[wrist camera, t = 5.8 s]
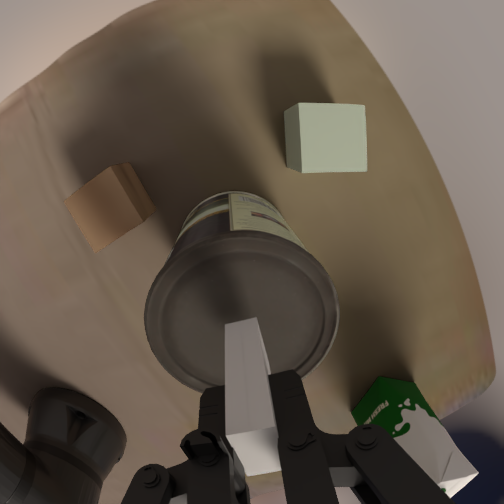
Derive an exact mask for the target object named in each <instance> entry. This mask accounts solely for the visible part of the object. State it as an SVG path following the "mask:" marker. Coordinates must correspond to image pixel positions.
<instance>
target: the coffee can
mask: <svg viewBox="0 0 504 504" xmlns="http://www.w3.org/2000/svg"><path fill="white" fill-rule="evenodd" d="M255 317H257V321H258V324H259V328H260V332H261V335H262V339H263V343H264V346H265V350H266V354H267V357H268V361H269V366H270V371H271V374H274V373H279V372H283V371H287V370H291V369H293V370H294V371H295V372H296V373H297V374H299V375H300V377H301V380H303V379H304V378H306V377H307V376H308V375H309V374H311V373H312V372H313V371H314V370H315V369H316V368H317V367H318V366H319V365H320V363H321V362H322V361H323V360H324V358H325V357H326V355H327V354H328V352H329V351H330V349H331V347H332V345H333V343H334V340H335V337H336V334H337V330H338V326H339V319H340V307H339V301H338V296H337V292H336V289H335V286H334V284H333V282H332V280H331V278H330V276H329V275H328V273H327V272H326V270H325V269H324V268H323V266H322V265H321V264H320V263H319V262H318V261H317V260H316V259H315V258H314V257H313V256H312V255H311V254H310V253H309V252H308V251H307V249H306V248H305V247H304V245H303V244H302V242H301V241H300V240H299V239H298V237H297V236H296V235H295V233H294V232H293V231H292V229H291V228H290V227H289V225H288V224H287V223H286V222H285V220H284V218H283V217H282V215H281V214H280V212H279V211H278V210H277V209H276V208H275V207H274V206H273V205H272V204H271V203H269V202H268V201H267V200H265V199H263V198H261V197H259V196H257V195H254V194H251V193H247V192H242V191H228V192H223V193H219V194H216V195H213V196H211V197H209V198H207V199H205V200H204V201H202V202H201V203H199V204H198V205H197V206H196V207H195V208H194V209H193V210H192V211H191V212H190V213H189V215H188V216H187V218H186V220H185V222H184V224H183V226H182V229H181V231H180V234H179V236H178V238H177V240H176V242H175V244H174V247H173V249H172V251H171V253H170V254H169V256H168V258H167V260H166V262H165V265H164V267H163V268H162V269H161V271H160V272H159V273H158V275H157V276H156V278H155V280H154V282H153V284H152V286H151V288H150V290H149V293H148V296H147V299H146V303H145V311H144V324H145V330H146V335H147V339H148V342H149V344H150V347H151V350H152V352H153V353H154V355H155V357H156V358H157V360H158V361H159V363H160V364H161V365H162V366H163V368H164V369H165V370H166V371H167V372H168V373H169V374H171V375H172V376H173V377H174V378H175V379H177V380H178V381H179V382H181V383H182V384H184V385H186V386H187V387H189V388H191V389H193V390H195V391H198V392H200V393H203V392H204V391H205V389H206V388H211V387H216V386H222V385H225V324H229V323H234V322H238V321H242V320H247V319H251V318H255Z"/></svg>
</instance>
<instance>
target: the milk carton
mask: <svg viewBox="0 0 504 504" xmlns="http://www.w3.org/2000/svg"><path fill="white" fill-rule="evenodd" d="M351 414H352V416H353V418H354V420H355V421H356V423H357V425H358V426H360V425H363V424H375V425H379V426H381V427H382V428H384V429H385V430H386V431H387V432H388V433H389V434H390V435H391V436H392V437H393V439H394V440H395V441H396V442H397V443H398V444H399V445H400V446H401V447H402V448H403V449H404V450H405V451H406V452H407V453H408V454H409V456H410V457H411V458H412V459H413V460H414V461H415V462H416V463H417V464H418V465H419V466H420V467H421V468H422V469H423V470H424V471H425V472H426V473H427V474H428V476H429V477H430V478H431V479H432V480H433V481H434V482H435V483H436V484H437V485H438V486H439V487H440V488H441V489H442V490H443V491H444V492H445V493H446V494H447V495H448V496H449V497H450V498H451V497H452V496H453V495H454V494H455V493H457V492H458V491H459V490H460V489H461V488H463V487H464V486H465V485H466V484H467V483H468V482H469V481H471V480H472V479H473V478H474V477H475V476H476V475H477V474H478V473H479V472H478V471H477V470H476V469H475V468H474V467H473V466H472V465H471V463H470V462H469V461H468V460H467V459H466V458H465V456H464V455H463V454H462V453H461V452H460V451H459V449H458V448H457V447H456V445H455V444H454V442H453V440H452V439H451V437H450V436H449V434H448V433H447V431H446V430H445V428H444V427H443V425H442V424H441V423H440V421H439V419H438V418H437V416H436V415H435V413H434V412H433V410H432V409H431V407H430V406H429V405H428V403H427V402H426V400H425V399H424V397H423V395H422V394H421V392H420V390H419V389H418V387H417V386H416V384H415V383H413V382H408V381H402V380H397V379H391V378H386V377H381V376H379V377H378V378H377V380H376V381H375V382H374V384H373V385H372V386H371V388H370V389H369V390H368V392H367V393H366V394H365V396H364V397H363V398H362V400H361V401H360V402H359V404H358V405H357V406H356V407H355V409H354V410H353V411H352V412H351Z"/></svg>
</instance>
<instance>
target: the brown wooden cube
mask: <svg viewBox="0 0 504 504" xmlns="http://www.w3.org/2000/svg"><path fill="white" fill-rule="evenodd" d="M64 203H65V204H66V206H67V208H68V210H69V211H70V213H71V215H72V216H73V218H74V220H75V221H76V223H77V225H78V226H79V228H80V230H81V231H82V233H83V235H84V236H85V238H86V239H87V241H88V243H89V244H90V246H91V247H92V249H93V250H94V252H95V253H97V252H98V251H100V250H101V249H103V248H104V247H106V246H107V245H109V244H110V243H112V242H113V241H115V240H116V239H118V238H119V237H121V236H122V235H124V234H125V233H127V232H128V231H130V230H132V229H133V228H135V227H136V226H138V225H139V224H141V223H142V222H144V221H145V220H146V219H147V218H148V217H149V216H150V215H151V214H152V213H153V212H154V211H155V210H156V207H155V205H154V204H153V202H152V200H151V199H150V197H149V195H148V194H147V192H146V190H145V189H144V187H143V185H142V184H141V182H140V180H139V178H138V177H137V175H136V173H135V172H134V170H133V168H132V166H131V165H130V163H129V162H127V163H122V164H117V165H112V166H109V167H108V168H107V169H105V170H104V171H102V172H101V173H100V174H98V175H97V176H96V177H94V178H93V179H92V180H90V181H89V182H88V183H86V184H85V185H84V186H82V187H81V188H80V189H79V190H77V191H76V192H75V193H73V194H72V195H71V196H70V197H68V198H67V199H66V200H65V201H64Z"/></svg>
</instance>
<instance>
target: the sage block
mask: <svg viewBox="0 0 504 504" xmlns="http://www.w3.org/2000/svg"><path fill="white" fill-rule="evenodd" d="M284 125H285V143H286V162H287V168H290V169H293V170H296V171H298V172H301V173H315V172H367V140H366V118H365V105H354V104H334V103H297V104H296V105H294V106H292V107H290V108H289V109H287V110H285V111H284Z"/></svg>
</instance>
